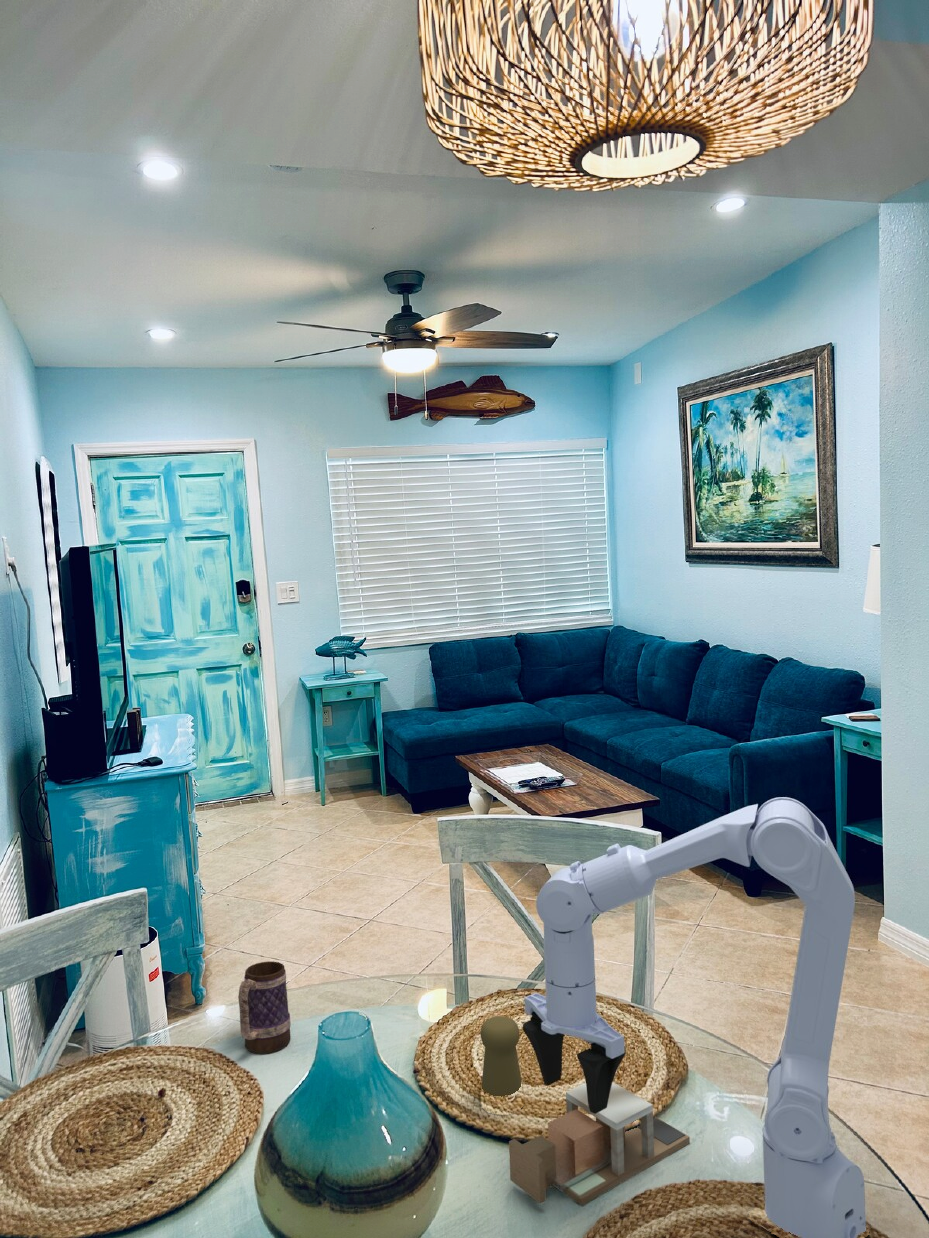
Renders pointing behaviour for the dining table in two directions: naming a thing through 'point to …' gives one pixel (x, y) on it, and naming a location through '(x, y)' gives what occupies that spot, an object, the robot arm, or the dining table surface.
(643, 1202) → the dining table surface
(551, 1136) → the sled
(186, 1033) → the dining table surface
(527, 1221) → the dining table surface
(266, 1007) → the mug
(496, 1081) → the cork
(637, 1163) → the tunnel board
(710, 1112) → the dining table surface
